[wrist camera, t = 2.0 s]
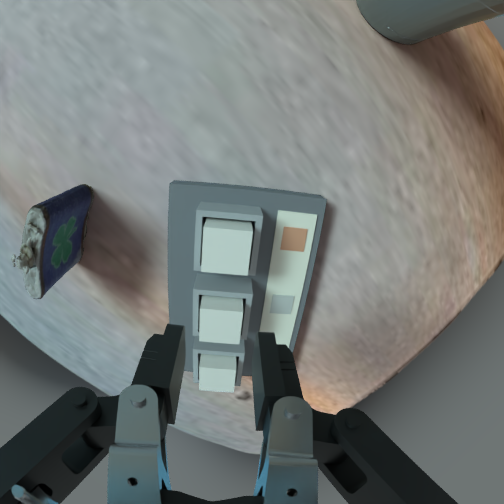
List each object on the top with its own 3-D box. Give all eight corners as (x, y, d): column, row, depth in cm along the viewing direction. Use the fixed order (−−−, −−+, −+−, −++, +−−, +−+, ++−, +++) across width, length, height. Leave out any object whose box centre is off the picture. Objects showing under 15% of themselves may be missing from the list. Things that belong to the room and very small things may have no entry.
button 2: (207, 216, 23) (203, 227, 21) (251, 220, 24) (252, 231, 21) (204, 256, 25) (201, 271, 22) (246, 259, 25) (247, 275, 22)
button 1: (201, 347, 28) (199, 367, 26) (236, 350, 29) (236, 370, 26) (201, 370, 30) (199, 389, 27) (233, 372, 30) (233, 392, 27)
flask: (82, 264, 28) (32, 315, 18) (62, 255, 28) (9, 301, 18) (97, 187, 25) (34, 216, 15) (75, 179, 25) (9, 204, 15)
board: (174, 180, 26) (160, 189, 21) (320, 195, 27) (337, 207, 22) (175, 358, 34) (168, 387, 29) (283, 366, 35) (289, 394, 30)
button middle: (203, 290, 26) (199, 308, 23) (242, 293, 26) (243, 312, 23) (202, 321, 27) (199, 341, 24) (238, 324, 28) (239, 344, 25)
